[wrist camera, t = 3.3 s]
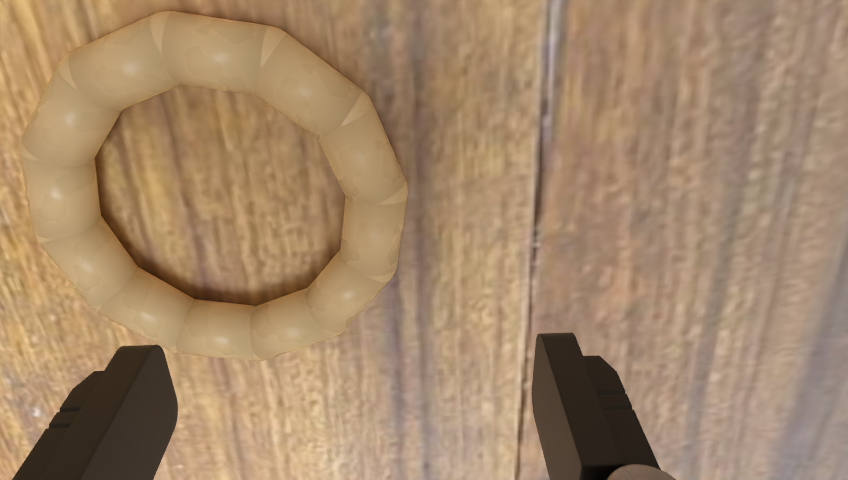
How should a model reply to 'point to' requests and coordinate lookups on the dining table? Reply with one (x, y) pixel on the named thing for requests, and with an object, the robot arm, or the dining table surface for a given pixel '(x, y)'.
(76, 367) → the dining table surface
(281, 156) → the dining table surface
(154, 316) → the ring
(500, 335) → the dining table surface
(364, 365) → the dining table surface
